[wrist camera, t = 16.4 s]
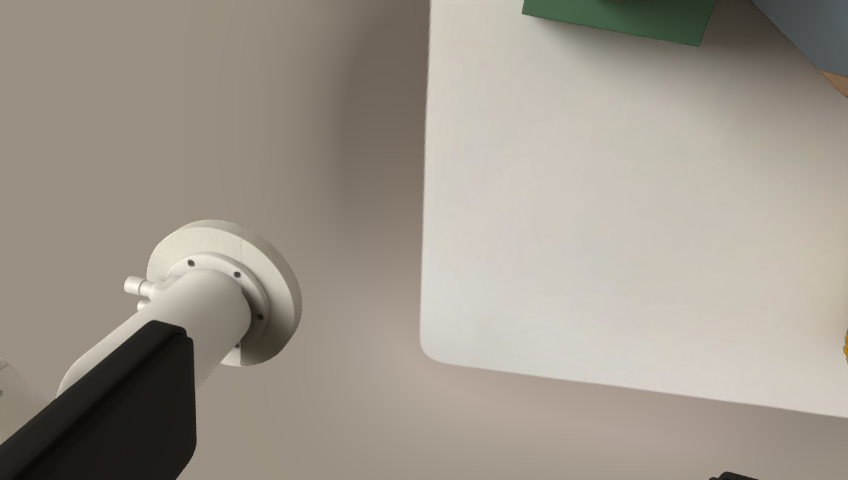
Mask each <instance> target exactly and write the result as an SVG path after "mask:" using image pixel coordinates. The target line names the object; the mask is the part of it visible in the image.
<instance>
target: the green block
mask: <svg viewBox="0 0 848 480" xmlns="http://www.w3.org/2000/svg"><path fill="white" fill-rule="evenodd" d="M714 3H715V0H620V1H619V0H524V4H523V9H522V14H524V15H530V16H535V17H541V18H546V19H551V20H557V21H562V22H568V23H573V24H578V25H584V26H589V27H595V28H600V29H605V30H611V31H616V32H622V33H627V34H633V35H638V36H643V37H649V38H654V39H660V40H665V41H670V42H676V43H681V44H687V45H692V46H697V47H698V46H699V45H700V42H701V39H702V36H703V33H704V31H705V28H706V25H707V22H708V20H709V17H710V14H711V11H712V9H713V6H714Z"/></svg>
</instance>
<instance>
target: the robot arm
mask: <svg viewBox="0 0 848 480" xmlns="http://www.w3.org/2000/svg"><path fill="white" fill-rule="evenodd" d="M124 290H125V291H126V292H128V293H132V294H136V295H140V296H147V297H149V298H150V300H151V301H147V300H140V302H139V303H138V306H137V309H138V312H137V313H136V314H134V315H133V316H132V317H131V318H130V319H128V320H127V321H126V322H124V323H123V324H122V325H121V326H119V327H118V328H117V329H116V330H114V331H113V332H112V333H110V334H109V335H108V336H107V337H105V338H104V339H103V340H102V341H100V342H99V343H98V344H97V345H95V346H94V347H93V348H91V349H90V350H89V351H88V352H86V353H85V354H84V355H83V356H81V357H80V358H79V359H78V360H77V361H76V362H75V363H74V364H73V365H72V366H71V368H70V369H69V370H68V372H67V373H66V375H65V377H64V378H63V380H62V382H61V384H60V387H59V389H58V392H57V395H56V398H55V400H53V401H52V402H51V403H50V402H49V401H48V400H47V399H46V398H44V397H43V396H42V395H41V394H40V393H39V392H38V391H37V390H36V389H35V388H34V387H33V386H32V385H30V383H28V382H27V381H26V380H25V379H24V378H23V377H22V376H21V375H20V374H19V373H18V372H17V371H16V370H15V369H14V368H13V367H12V366H10V365H9V364H8V363H7V362H6V361H5V360H4V359H2V358H1V357H0V480H176V478H177V477H178V476H179V474H180V473H181V472H182V471H183V469H184V468H185V467H186V465H187V464H188V463H189V461H190V460H191V458H192V456H193V454H194V451H195V448H196V441H197V438H196V405H195V391H196V390H197V389H198V388H199V387H200V386H201V384H202V383H203V382H204V381H205V380H206V379H207V378H208V376H209V375H210V374H211V373H212V372H213V371H214V369H215V368H216V367H217V366H218V365H219V364H220V363H221V361H222V360H223V359H224V358H225V357H226V356H227V354H228V353H229V352H230V351H236V350H242V349H245V348H247V347H250V346H251V345H253V344H254V343H255V342H257V341H258V339H259V338H260V337H261V336H262V335H263V333H264V332H265V330H266V329H267V326H268V323H269V319H270V307H269V301H268V298H267V295H266V293H265V291H264V289H263V287H262V285H261V284H260V282H259V281H258V279H257V278H256V277H255V276H254V275H253V274H252V273H251V272H250V271H249V270H248V269H247V268H246V267H245V266H243V265H242V264H240V263H239V262H237V261H236V260H234V259H232V258H230V257H228V256H225V255H222V254H219V253H212V252H198V253H194V254H190V255H188V256H186V257H184V258H182V259H181V260H180V261H179V262H177V263H176V264H175V265H174V266H173V267H172V268H171V269H170V271H169V273H168V275H167V277H166V281H161V280H157V281H155V282H152V281H148V280H147V279H143V278H139V277H136V276H130V277H128V278H127V280H126V282H125V284H124ZM709 480H758V479H754V478H750V477H746V476H743V475H739V474H735V473H731V472H724V473H722V474H721V476H720V477H719V478H715V477H712V478H710V479H709Z"/></svg>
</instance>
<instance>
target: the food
mask: <svg viewBox="0 0 848 480" xmlns="http://www.w3.org/2000/svg"><path fill="white" fill-rule="evenodd" d="M845 344H846V345H845V346H843V349H844V353H845V354H846V356H847V358H846V360H847V361H848V329H847V334H846V337H845ZM847 363H848V362H847Z"/></svg>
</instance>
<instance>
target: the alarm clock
mask: <svg viewBox="0 0 848 480" xmlns="http://www.w3.org/2000/svg"><path fill="white" fill-rule="evenodd" d="M751 1H752V2H753V3H754V4H755V5H756V6H757V7H758V9H759V10H760V11H761V12H762V13H763V14H764V15H765V16H766V17H767V18H768V19H769V20H770V21H771V22H772V23H773V24H774V25H775V26H776V27H777V28H778V29H779V30H780V31H781V32H782V33H783V34H784V35H785V36H786V37H787V38H788V39H789V40H790V41H791V42H792V43H793V44H794V46H795V47H796V48H797V49H798V50H799V51H800V52H801V53H802V54H803V55H804V56H805V57H806V58H807V59H808V60H809V61H810V62H811V63H812V64H813V65H814V66H815V67H816V68H817V69H819V71H820V72H821V73H822V74H823V75H824V76H825V77H826V78H827V79H828V80H829V82H830V83H831V84H832V85H833V86H834V87H835V88H836V89H837V90H838V91H839V92H840V93H841V94H842V95H844V96H845V97H846V98H848V0H751Z"/></svg>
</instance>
